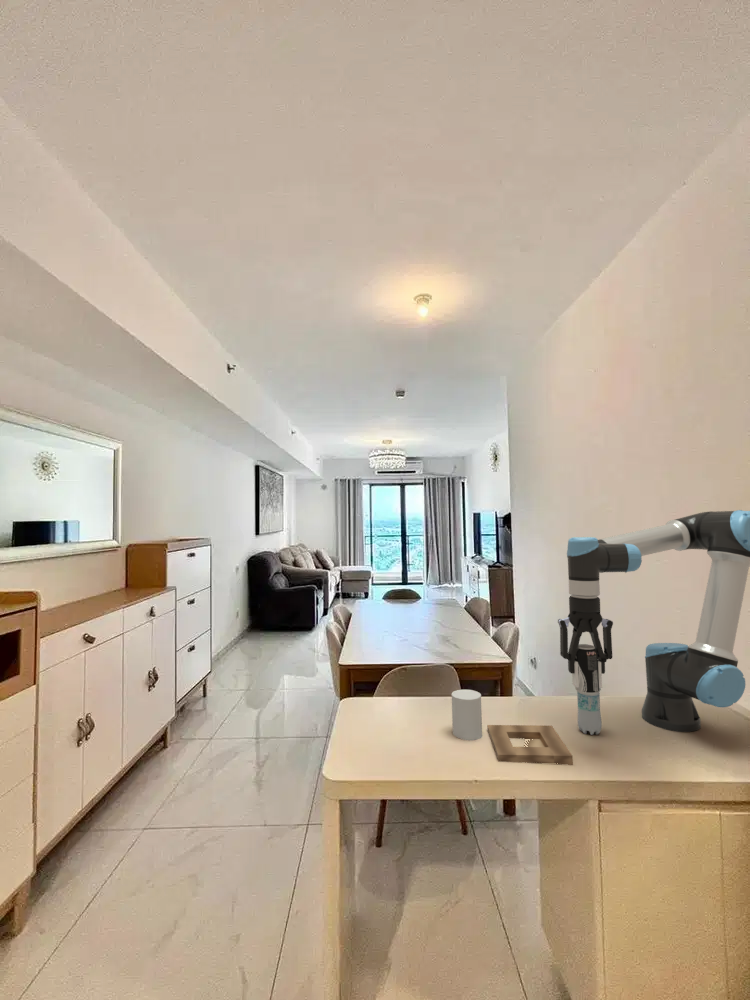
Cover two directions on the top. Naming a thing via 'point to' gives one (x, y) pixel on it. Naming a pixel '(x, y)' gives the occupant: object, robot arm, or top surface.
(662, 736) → the top surface
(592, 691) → the beverage can
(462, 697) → the cup
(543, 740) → the socket block
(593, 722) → the bottle
